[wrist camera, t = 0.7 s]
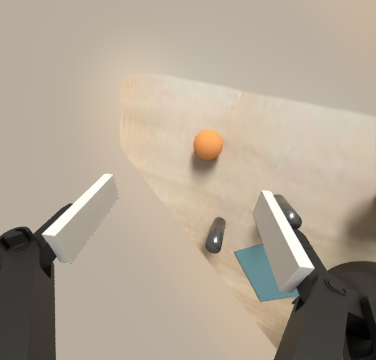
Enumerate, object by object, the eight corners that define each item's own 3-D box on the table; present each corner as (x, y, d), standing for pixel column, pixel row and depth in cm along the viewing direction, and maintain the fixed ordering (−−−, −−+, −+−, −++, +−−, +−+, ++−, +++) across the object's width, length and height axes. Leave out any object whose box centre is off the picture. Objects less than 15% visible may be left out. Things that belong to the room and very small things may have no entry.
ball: (229, 150, 32) (226, 151, 27) (205, 162, 34) (199, 166, 29) (216, 125, 32) (211, 121, 27) (192, 139, 34) (184, 139, 29)
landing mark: (325, 290, 32) (326, 291, 32) (260, 300, 37) (260, 301, 36) (296, 234, 31) (296, 234, 31) (234, 251, 36) (234, 252, 36)
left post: (227, 225, 35) (223, 251, 27) (217, 229, 36) (210, 255, 28) (222, 215, 35) (216, 237, 27) (211, 219, 36) (203, 242, 28)
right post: (287, 204, 31) (305, 226, 22) (273, 209, 32) (285, 232, 23) (281, 192, 31) (296, 210, 22) (267, 197, 32) (277, 217, 23)
